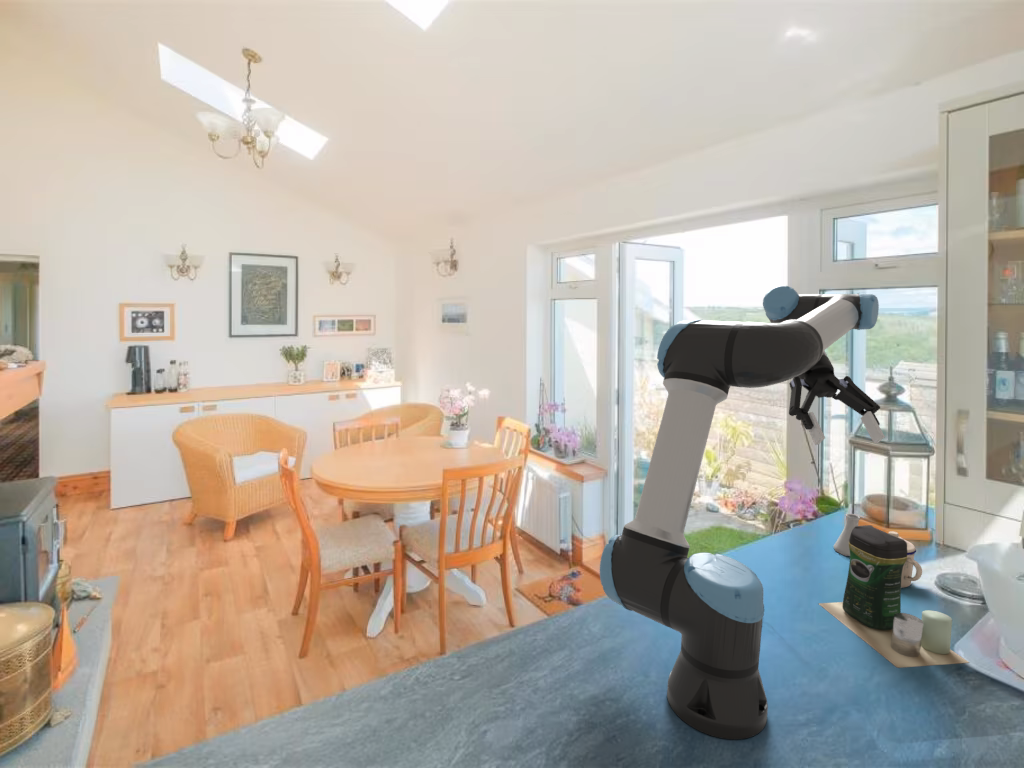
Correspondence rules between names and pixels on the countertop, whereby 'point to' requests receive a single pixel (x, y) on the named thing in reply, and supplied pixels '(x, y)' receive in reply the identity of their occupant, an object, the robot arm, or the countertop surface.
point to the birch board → (889, 642)
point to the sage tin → (936, 632)
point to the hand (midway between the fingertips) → (850, 440)
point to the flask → (846, 535)
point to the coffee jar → (874, 577)
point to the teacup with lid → (909, 564)
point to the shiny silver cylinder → (907, 634)
